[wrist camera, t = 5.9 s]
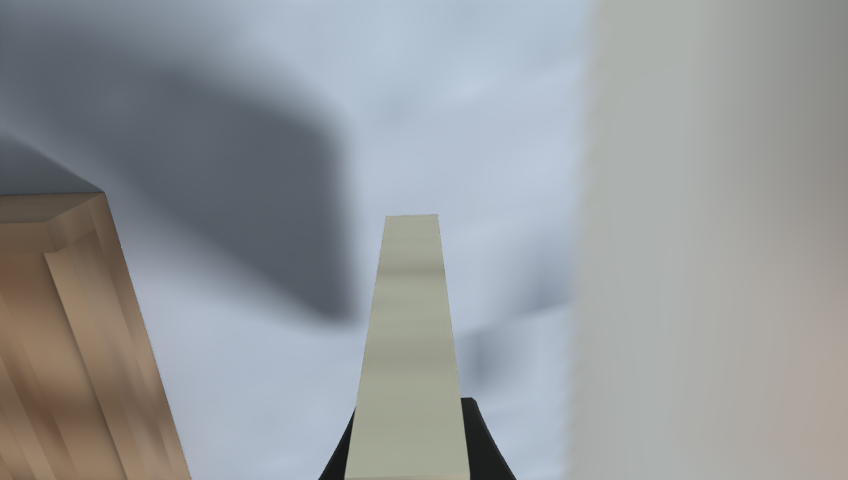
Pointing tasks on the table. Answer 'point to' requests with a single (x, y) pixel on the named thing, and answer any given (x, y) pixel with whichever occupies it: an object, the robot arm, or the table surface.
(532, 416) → the table surface
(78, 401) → the walnut rack
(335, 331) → the table surface
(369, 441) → the birch block
